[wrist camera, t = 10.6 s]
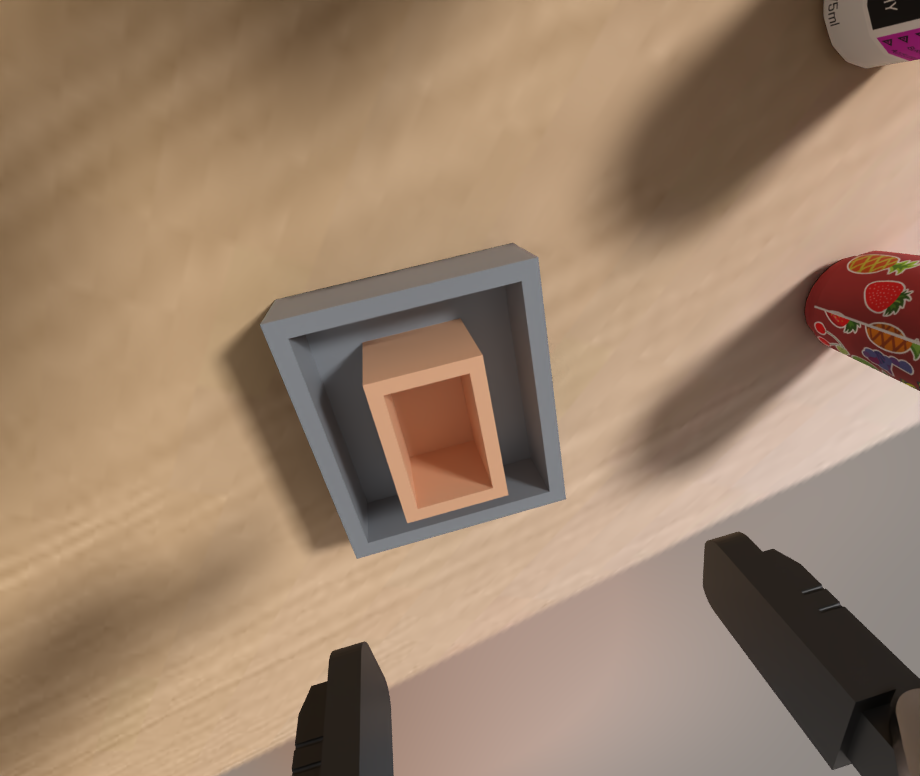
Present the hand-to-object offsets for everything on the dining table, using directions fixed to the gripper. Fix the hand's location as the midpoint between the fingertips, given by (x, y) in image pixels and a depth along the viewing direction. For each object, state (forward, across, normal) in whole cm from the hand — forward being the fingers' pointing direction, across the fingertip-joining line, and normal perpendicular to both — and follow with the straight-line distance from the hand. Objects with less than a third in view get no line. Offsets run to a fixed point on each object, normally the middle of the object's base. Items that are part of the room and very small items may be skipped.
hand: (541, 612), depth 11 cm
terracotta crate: (+20, +2, +4) cm, 20 cm away
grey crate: (+20, +2, +4) cm, 21 cm away
